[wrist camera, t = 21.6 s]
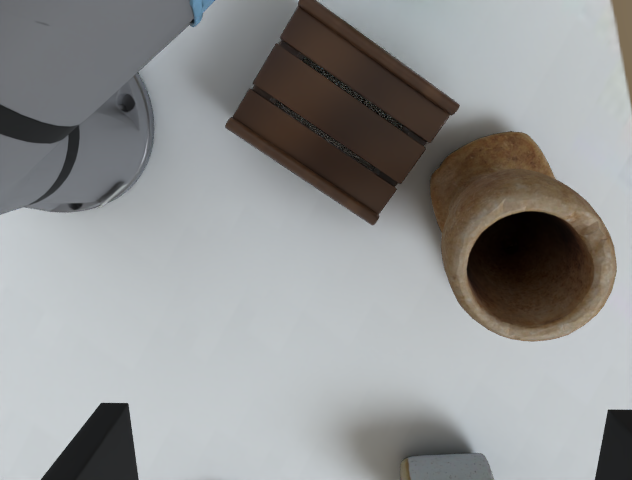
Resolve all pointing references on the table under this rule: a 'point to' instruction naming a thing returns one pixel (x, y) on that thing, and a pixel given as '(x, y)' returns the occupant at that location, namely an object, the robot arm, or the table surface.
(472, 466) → the ceramic mug
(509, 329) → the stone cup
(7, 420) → the table surface
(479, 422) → the table surface
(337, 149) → the rack
